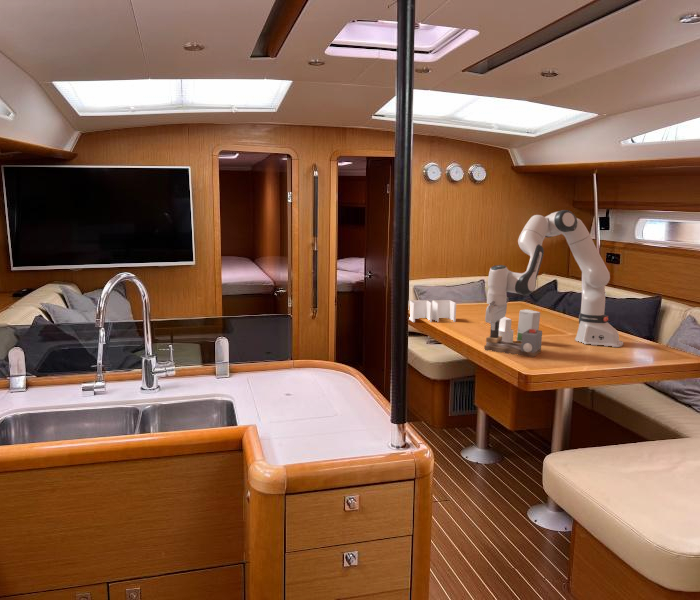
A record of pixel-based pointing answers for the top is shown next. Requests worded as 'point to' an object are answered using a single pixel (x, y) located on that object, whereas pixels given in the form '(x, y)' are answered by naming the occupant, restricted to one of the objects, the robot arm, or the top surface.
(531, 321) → the skincare box
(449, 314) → the white slotted rack
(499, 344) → the rail board
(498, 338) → the carriage
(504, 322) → the base with upright slab
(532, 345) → the end cabinet
